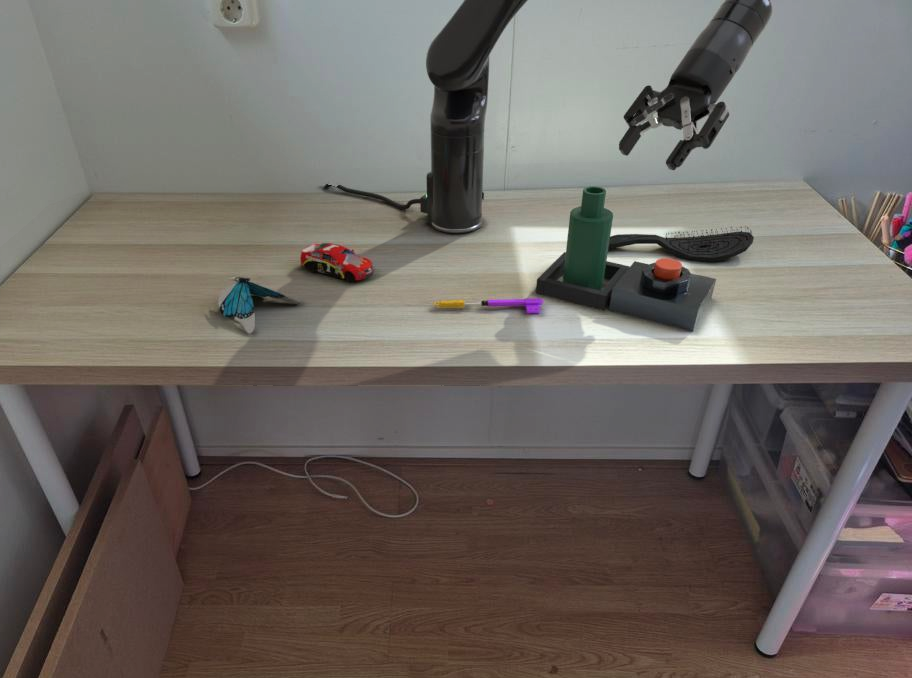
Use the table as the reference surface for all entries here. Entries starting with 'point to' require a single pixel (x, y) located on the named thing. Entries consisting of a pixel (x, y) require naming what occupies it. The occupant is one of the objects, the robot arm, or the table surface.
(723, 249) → the hairbrush
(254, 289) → the decorative butterfly
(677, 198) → the table surface
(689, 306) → the panel with orange knob
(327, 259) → the race car
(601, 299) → the dock
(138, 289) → the table surface
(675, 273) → the button
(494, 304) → the purple yellow slender tool
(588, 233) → the vase
